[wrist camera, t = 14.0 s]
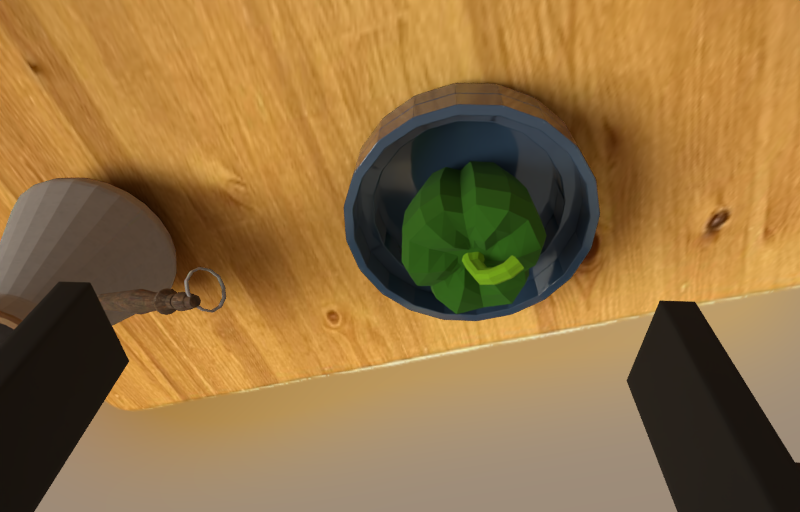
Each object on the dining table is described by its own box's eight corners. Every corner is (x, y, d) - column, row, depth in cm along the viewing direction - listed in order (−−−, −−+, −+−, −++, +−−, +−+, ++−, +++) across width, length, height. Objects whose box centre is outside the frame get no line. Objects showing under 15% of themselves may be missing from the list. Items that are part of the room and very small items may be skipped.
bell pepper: (422, 256, 37) (418, 356, 29) (393, 157, 33) (378, 242, 25) (536, 236, 36) (565, 335, 28) (522, 128, 31) (551, 209, 23)
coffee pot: (112, 302, 43) (-16, 461, 31) (4, 193, 37) (-207, 336, 25) (328, 224, 37) (274, 384, 25) (240, 79, 31) (113, 195, 19)
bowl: (359, 277, 40) (351, 316, 36) (347, 77, 31) (335, 102, 27) (558, 285, 39) (570, 325, 35) (606, 82, 30) (629, 108, 26)
